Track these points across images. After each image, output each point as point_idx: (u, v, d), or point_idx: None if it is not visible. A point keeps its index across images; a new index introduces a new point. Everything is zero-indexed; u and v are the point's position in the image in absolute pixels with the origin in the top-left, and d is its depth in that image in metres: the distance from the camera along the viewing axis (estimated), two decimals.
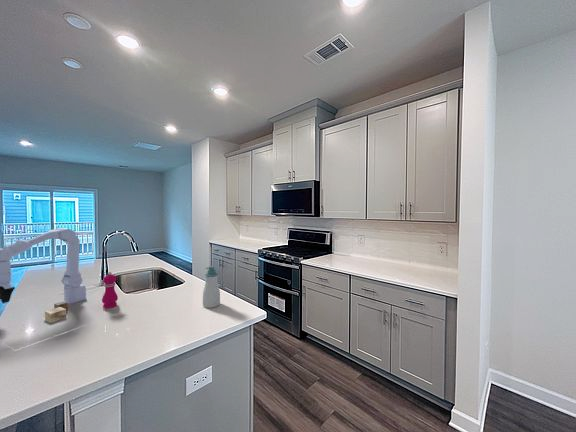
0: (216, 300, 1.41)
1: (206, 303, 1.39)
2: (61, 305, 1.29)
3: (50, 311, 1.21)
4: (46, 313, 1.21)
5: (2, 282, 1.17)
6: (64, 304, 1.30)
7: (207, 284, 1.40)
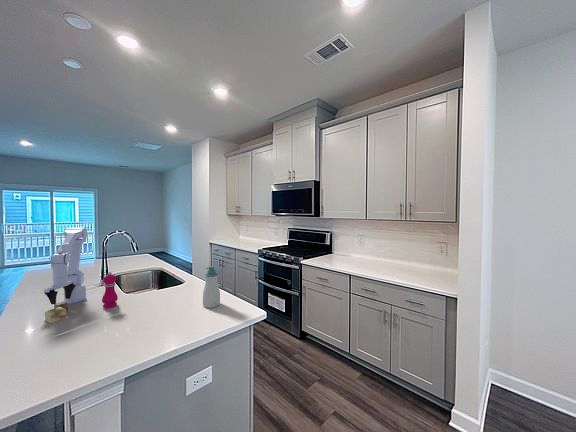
0: (216, 300, 1.41)
1: (206, 303, 1.39)
2: (61, 305, 1.29)
3: (50, 311, 1.21)
4: (46, 313, 1.21)
5: (53, 284, 1.27)
6: (64, 304, 1.30)
7: (207, 284, 1.40)
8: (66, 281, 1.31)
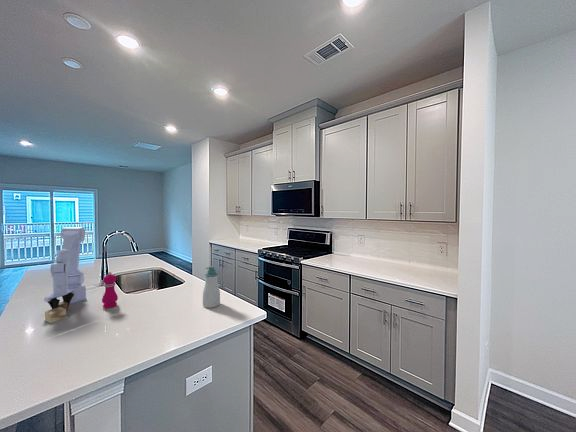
0: (216, 300, 1.41)
1: (206, 303, 1.39)
2: (61, 305, 1.29)
3: (50, 311, 1.21)
4: (46, 313, 1.21)
5: (54, 293, 1.28)
6: (64, 304, 1.30)
7: (207, 284, 1.40)
8: (66, 290, 1.31)
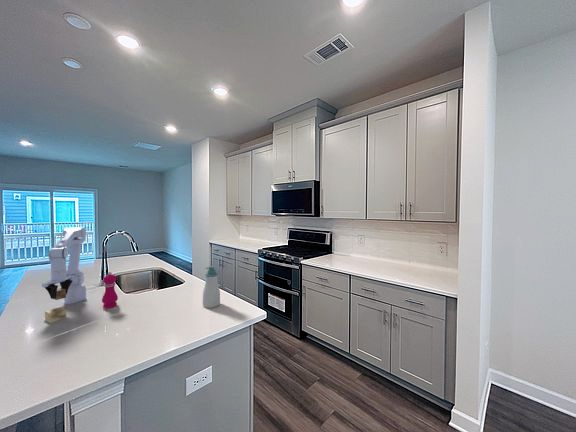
0: (216, 300, 1.41)
1: (206, 303, 1.39)
2: (59, 291, 1.26)
3: (50, 311, 1.21)
4: (46, 313, 1.21)
5: (52, 279, 1.25)
6: (62, 290, 1.28)
7: (207, 284, 1.40)
8: (64, 276, 1.28)
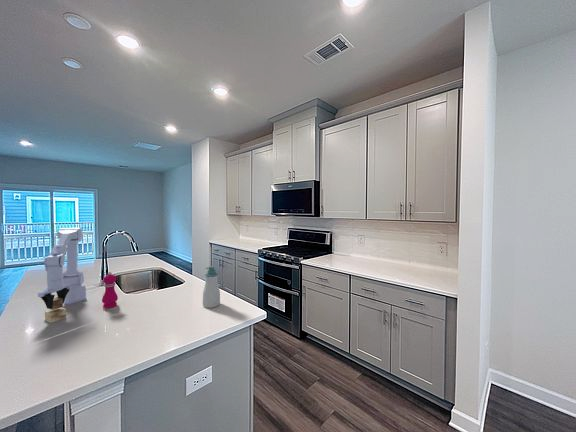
0: (216, 300, 1.41)
1: (206, 303, 1.39)
2: (56, 301, 1.21)
3: (50, 311, 1.21)
4: (46, 313, 1.21)
5: (48, 288, 1.20)
6: (59, 300, 1.22)
7: (207, 284, 1.40)
8: (61, 284, 1.23)
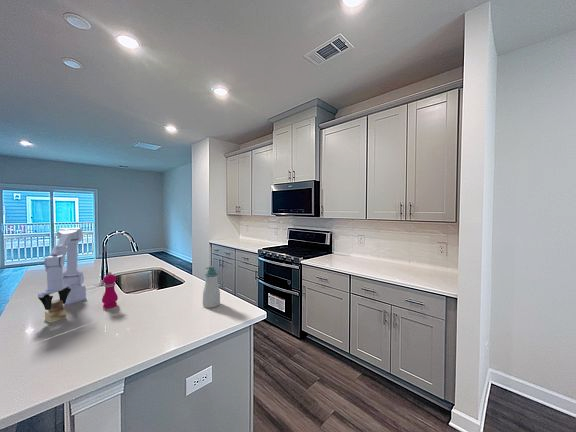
0: (216, 300, 1.41)
1: (206, 303, 1.39)
2: (56, 303, 1.21)
3: None
4: (46, 313, 1.21)
5: (48, 289, 1.20)
6: (59, 302, 1.23)
7: (207, 284, 1.40)
8: (61, 285, 1.23)
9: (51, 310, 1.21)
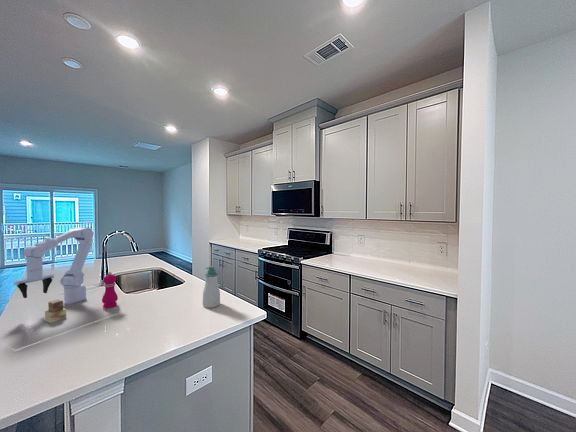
0: (216, 300, 1.41)
1: (206, 303, 1.39)
2: (56, 303, 1.21)
3: None
4: (46, 313, 1.21)
5: None
6: (59, 302, 1.23)
7: (207, 284, 1.40)
8: (39, 275, 1.26)
9: (51, 310, 1.21)
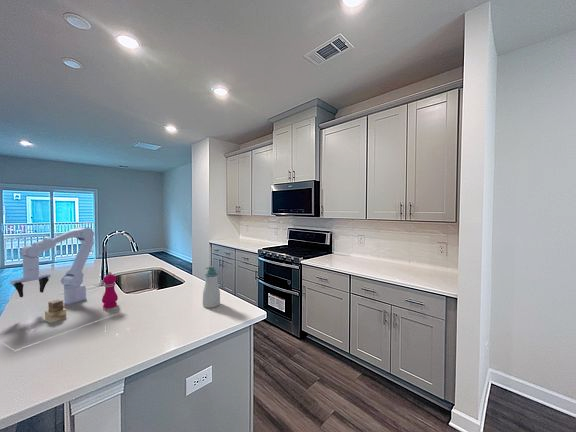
0: (216, 300, 1.41)
1: (206, 303, 1.39)
2: (56, 303, 1.21)
3: None
4: (46, 313, 1.21)
5: (23, 277, 1.25)
6: (59, 302, 1.23)
7: (207, 284, 1.40)
8: (35, 274, 1.27)
9: (51, 310, 1.21)
